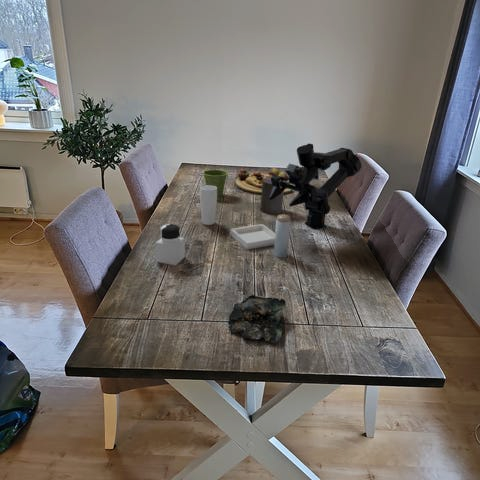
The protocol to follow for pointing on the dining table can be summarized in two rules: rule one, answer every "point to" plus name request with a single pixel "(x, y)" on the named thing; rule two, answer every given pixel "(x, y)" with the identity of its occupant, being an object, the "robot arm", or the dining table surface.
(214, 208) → the drinking glass
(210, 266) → the dining table surface
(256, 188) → the wooden plate with food
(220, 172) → the plant pot
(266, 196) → the pillar candle
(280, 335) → the decorative rock
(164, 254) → the medicine bottle
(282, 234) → the spice jar
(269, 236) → the white square dish
